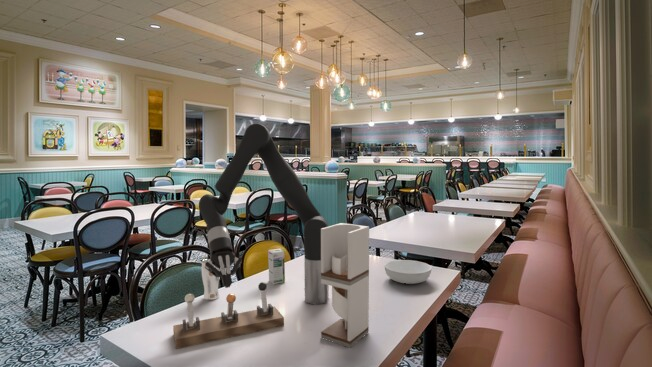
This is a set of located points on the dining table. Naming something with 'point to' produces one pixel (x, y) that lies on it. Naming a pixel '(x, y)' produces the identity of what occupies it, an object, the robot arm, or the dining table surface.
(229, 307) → the orange lever
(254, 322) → the switch panel
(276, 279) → the syrup box
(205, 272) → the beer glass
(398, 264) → the serving bowl
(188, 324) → the cream lever
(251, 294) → the dining table surface
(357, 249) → the display case
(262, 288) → the black lever
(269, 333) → the dining table surface
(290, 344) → the dining table surface
